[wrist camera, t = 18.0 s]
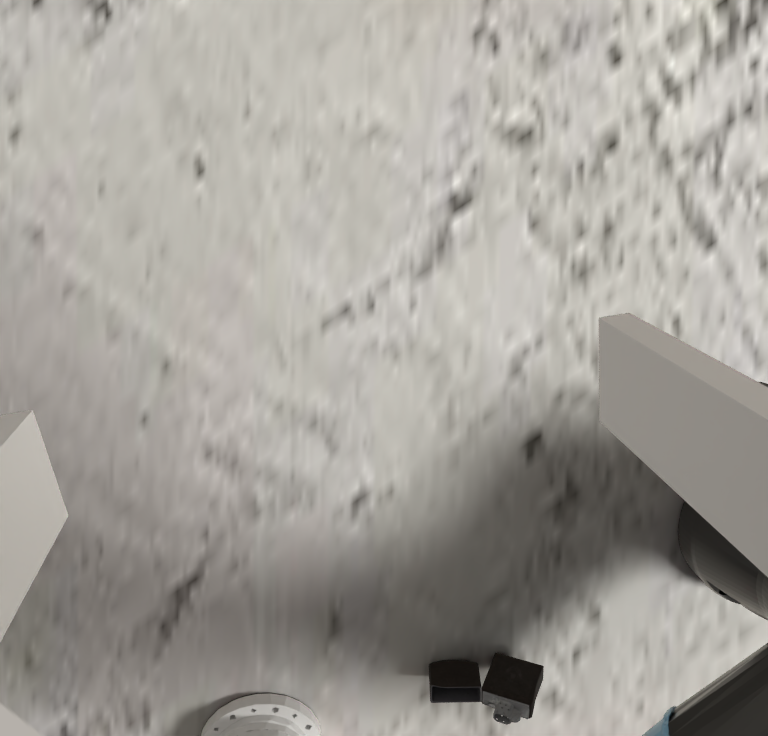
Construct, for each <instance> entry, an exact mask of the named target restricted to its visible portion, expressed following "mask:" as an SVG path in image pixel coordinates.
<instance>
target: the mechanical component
mask: <svg viewBox="0 0 768 736" xmlns="http://www.w3.org/2000/svg"><path fill="white" fill-rule="evenodd" d="M201 736H321V730H320V726H319V721H318V719H317V718H316V717H315V715H314V714H313V712H312V711H311V709H309V708H308V707H307V706H305V705H304V704H303V703H301V702H300V701H298V700H295V699H293V698H290V697H288V696H284V695H277V694H271V693H269V694H254V695H250V696H245V697H242V698H239V699H236V700H233V701H231V702H230V703H228V704H226V705H225V706H223V707H221V708H220V709H218V710H217V711H216V712H215V713H214V714H213V715H212V716H211V717H210V718H209V719H208V721H207V723H206V724H205V726H204V728H203V730H202V733H201Z"/></svg>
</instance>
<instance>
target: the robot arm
mask: <svg viewBox="0 0 768 736" xmlns="http://www.w3.org/2000/svg"><path fill="white" fill-rule="evenodd" d="M599 422H601V423H602V424H603V425H604V426H605V427H606V428H607V429H608V430H609V431H610V432H611V433H612V434H613V435H615V436H616V437H617V438H618V439H619V440H620V441H621V442H622V443H623V444H624V445H625V446H626V447H628V448H629V449H630V450H631V451H632V452H633V453H634V454H635V455H636V456H637V457H638V458H639V459H640V460H642V461H643V462H644V463H645V464H646V465H647V466H648V467H649V468H650V469H651V470H652V471H653V472H655V473H656V474H657V475H658V476H659V477H660V478H661V479H662V480H663V481H664V482H665V483H666V484H667V485H669V486H670V487H671V488H672V489H673V490H674V491H675V492H676V493H677V494H678V495H679V496H680V497H682V498H683V499H684V500H685V503H684V505H683V508H682V511H681V515H680V520H679V531H678V535H679V544H680V548H681V552H682V554H683V557H684V559H685V561H686V562H687V564H688V565H689V567H690V568H691V569H692V570H693V571H694V572H695V573H696V575H697V576H698V577H699V578H700V579H701V580H702V581H703V582H704V583H705V584H706V585H707V586H708V587H709V588H710V589H711V590H713V591H714V592H715V593H717V594H718V595H720V596H722V597H723V598H725V599H727V600H730V601H732V602H735V603H738V604H741V605H743V606H744V607H745V608H747V609H748V610H750V611H751V612H753V613H755V614H757V615H759V616H760V617H762V618H764V619H766V620H768V384H766V383H762V382H757V381H755V380H753V379H751V378H749V377H748V376H746V375H744V374H742V373H740V372H738V371H736V370H735V369H733V368H731V367H729V366H727V365H725V364H723V363H722V362H720V361H718V360H716V359H714V358H712V357H710V356H708V355H707V354H705V353H703V352H701V351H699V350H697V349H695V348H694V347H692V346H690V345H688V344H686V343H684V342H682V341H681V340H679V339H677V338H675V337H673V336H671V335H669V334H668V333H666V332H664V331H662V330H660V329H658V328H656V327H655V326H653V325H651V324H649V323H647V322H645V321H643V320H641V319H640V318H638V317H636V316H634V315H632V314H630V313H625V314H619V315H613V316H607V317H601V318H599ZM67 518H68V513H67V510H66V507H65V504H64V501H63V498H62V495H61V492H60V489H59V486H58V483H57V480H56V477H55V474H54V471H53V468H52V465H51V462H50V460H49V457H48V454H47V451H46V448H45V445H44V442H43V439H42V436H41V433H40V430H39V427H38V424H37V421H36V418H35V415H34V412H33V410H29V411H23V412H17V413H10V414H4V415H0V642H1V640H2V638H3V637H4V635H5V633H6V631H7V629H8V627H9V625H10V624H11V622H12V620H13V618H14V616H15V614H16V612H17V611H18V609H19V607H20V605H21V603H22V601H23V599H24V598H25V596H26V594H27V592H28V590H29V588H30V586H31V585H32V583H33V581H34V579H35V577H36V575H37V573H38V572H39V570H40V568H41V566H42V564H43V562H44V560H45V559H46V557H47V555H48V553H49V551H50V549H51V547H52V546H53V544H54V542H55V540H56V538H57V536H58V534H59V533H60V531H61V529H62V527H63V525H64V523H65V521H66V520H67ZM642 736H768V643H767V644H766V645H764V646H763V647H761V648H760V649H759V650H757V651H756V652H754V653H753V654H751V655H750V656H749V657H747V658H746V659H744V660H743V661H742V662H740V663H739V664H737V665H736V666H734V667H733V668H732V669H730V670H729V671H727V672H726V673H724V674H723V675H722V676H720V677H719V678H717V679H716V680H715V681H713V682H712V683H710V684H709V685H707V686H706V687H705V688H703V689H702V690H700V691H699V692H697V693H696V694H695V695H693V696H692V697H690V698H689V699H688V700H686V701H685V702H683V703H682V704H680V705H679V706H678V707H675V706H673V707H671V708H670V709H669V710H667V712H666V713H665V715H664V718H663V719H662V720H661V721H659V722H658V723H657V724H656V725H654V726H653V727H652V728H651V729H649V730H648V731H647V732H646V733H645V734H643V735H642Z"/></svg>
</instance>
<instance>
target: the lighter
mask: <svg viewBox="0 0 768 736" xmlns="http://www.w3.org/2000/svg"><path fill="white" fill-rule="evenodd" d="M542 680H543V666H541V665H538V664H534V663H531V662H527V661H524V660H520V659H516V658H513V657H509V656H506V655H502V654H499V653H495V656H494V658H493V661H492V663H491V666H490V668H489V671H488V673H487V676H486V679H485V681H484V684H483V686H482V688H481V681H480V674H479V667H478V664H477V663H474V662H470V661H464V660H447V661H439V662H435V663H431V664H430V665H429V681H430V701H431V702H432V703H440V702H482V703H483V704H485V705H487V706H490V707H492V708H495V711H494V715H493V718H494V719H495V720H496V721H497V722H500V723H504V724H510V723H511V722H518V721H520V718H521V717H523V718H526V719H528V718H531V717H532V714H533V709H534V704H535V700H536V697H537V694H538V691H539V688H540V686H541V683H542ZM501 715H503V716H501ZM507 717H508V718H507ZM496 718H497V719H498V720H497V719H496ZM503 721H505V722H503Z"/></svg>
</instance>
